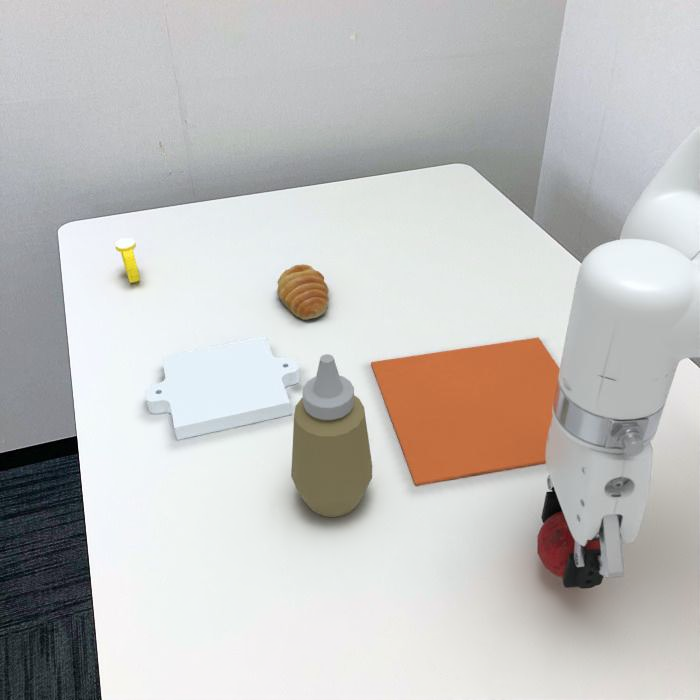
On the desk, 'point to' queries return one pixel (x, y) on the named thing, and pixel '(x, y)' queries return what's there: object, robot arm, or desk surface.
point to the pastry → (303, 291)
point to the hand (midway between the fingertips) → (569, 549)
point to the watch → (128, 258)
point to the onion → (557, 544)
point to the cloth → (470, 408)
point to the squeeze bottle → (330, 443)
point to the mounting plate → (223, 387)
